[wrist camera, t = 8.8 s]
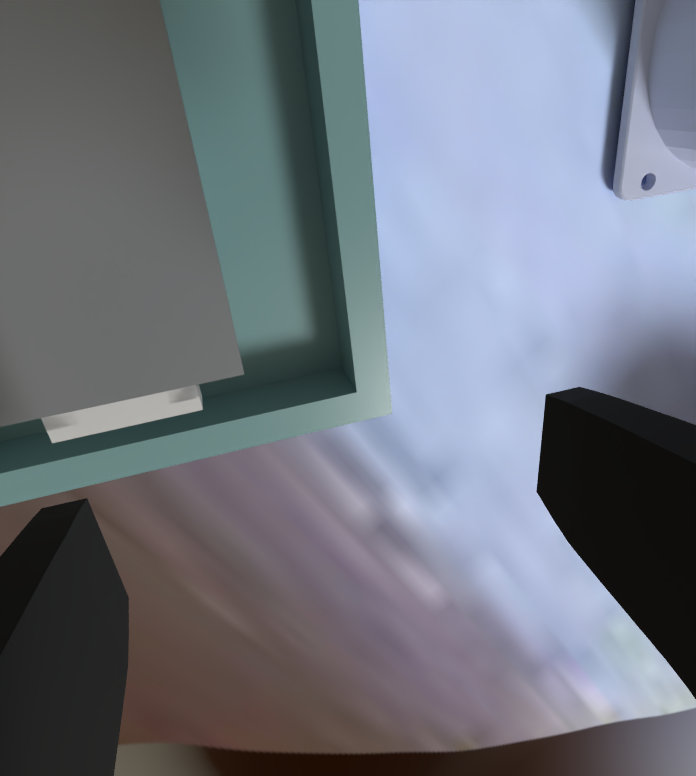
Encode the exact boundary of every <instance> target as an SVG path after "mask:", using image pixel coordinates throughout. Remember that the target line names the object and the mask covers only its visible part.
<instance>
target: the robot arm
mask: <svg viewBox="0 0 696 776" xmlns="http://www.w3.org/2000/svg"><path fill="white" fill-rule="evenodd" d="M645 175H647V180H646V183H645V184H644V185H643V187H641V182H642V179H643V178H644V176H645ZM692 189H696V0H636V1H635V9H634V17H633V25H632V34H631V42H630V50H629V58H628V66H627V75H626V83H625V91H624V99H623V108H622V116H621V124H620V132H619V140H618V149H617V157H616V165H615V173H614V182H613V192H614V194H615V196H616V197H618V198H619V199H623V200H630V201H632V200H637V199H642V198H648V197H653V196H659V195H664V194H670V193H675V192H681V191H686V190H692ZM537 493H538V495H539V496H540V498H541V500H542V501H543V503H544V505H545V506H546V508H547V510H548V511H549V513H550V515H551V516H552V518H553V520H554V521H555V523H556V524H557V526H558V527H559V529H560V530H561V532H562V533H563V535H564V536H565V538H566V539H567V541H568V542H569V544H570V545H571V546H572V547H573V549H574V550H575V551H576V552H577V554H578V555H579V556H580V557H581V559H582V560H583V561H584V562H585V563H586V565H587V566H588V567H589V568H590V570H591V571H592V572H593V573H594V574H595V576H596V577H597V578H598V579H599V580H600V582H601V583H602V584H603V585H604V586H605V588H606V589H607V590H608V591H609V592H610V594H611V595H612V596H613V597H614V598H615V600H616V601H617V602H618V603H619V604H620V606H621V607H622V608H623V609H624V610H625V611H626V613H627V614H628V615H629V616H630V617H631V619H632V620H633V621H634V622H635V623H636V625H637V626H638V627H639V628H640V629H641V631H642V632H643V633H644V634H645V635H646V637H647V638H648V639H649V640H650V641H651V643H652V644H653V645H654V646H655V647H656V648H657V650H658V651H659V652H660V653H661V654H662V656H663V657H664V658H665V659H666V661H667V662H668V663H669V664H670V666H671V667H672V668H673V670H674V671H675V672H676V673H677V675H678V676H679V677H680V679H681V680H682V681H683V682H684V684H685V685H686V686H687V688H688V689H689V690H690V692H691V693H692V695H693V696H694V698H695V699H696V425H694V424H691V423H688V422H685V421H682V420H680V419H677V418H674V417H671V416H668V415H665V414H662V413H660V412H657V411H654V410H651V409H648V408H645V407H643V406H640V405H637V404H634V403H631V402H628V401H625V400H622V399H619V398H616V397H613V396H610V395H606V394H603V393H600V392H596V391H593V390H589V389H585V388H581V387H577V388H573V389H569V390H564V391H560V392H555V393H551V394H546V400H545V410H544V420H543V431H542V441H541V452H540V462H539V472H538V483H537ZM128 640H129V598H128V595H127V593H126V590H125V588H124V585H123V583H122V581H121V578H120V576H119V573H118V571H117V569H116V566H115V564H114V562H113V559H112V557H111V554H110V552H109V550H108V547H107V545H106V542H105V540H104V538H103V535H102V533H101V530H100V528H99V526H98V523H97V521H96V519H95V516H94V514H93V511H92V509H91V507H90V504H89V502H88V499H87V498H86V499H82V500H77V501H73V502H68V503H64V504H60V505H55V506H51V507H46V508H42V509H41V510H40V511H39V512H38V513H37V514H36V515H35V516H34V517H33V519H32V520H31V521H30V522H29V523H28V524H27V525H26V527H25V528H24V529H23V530H22V531H21V533H20V534H19V535H18V536H17V537H16V538H15V540H14V541H13V542H12V543H11V544H10V546H9V547H8V548H7V549H6V550H5V552H4V553H3V554H2V555H1V556H0V776H114V769H115V762H116V754H117V747H118V739H119V732H120V725H121V717H122V709H123V702H124V694H125V686H126V678H127V669H128Z"/></svg>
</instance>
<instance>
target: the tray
mask: <svg viewBox="0 0 696 776" xmlns="http://www.w3.org/2000/svg"><path fill="white" fill-rule="evenodd" d="M160 1H161V6H162V10H163V14H164V19H165V23H166V28H167V32H168V36H169V41H170V45H171V50H172V54H173V59H174V63H175V67H176V72H177V76H178V81H179V85H180V89H181V94H182V98H183V103H184V107H185V111H186V116H187V120H188V125H189V129H190V133H191V138H192V142H193V147H194V151H195V156H196V160H197V164H198V169H199V173H200V178H201V182H202V186H203V191H204V195H205V200H206V204H207V208H208V213H209V217H210V222H211V226H212V230H213V235H214V239H215V244H216V248H217V253H218V257H219V261H220V266H221V270H222V275H223V279H224V284H225V288H226V293H227V297H228V302H229V306H230V311H231V316H232V320H233V325H234V329H235V334H236V338H237V343H238V348H239V352H240V357H241V361H242V366H243V370H244V375H240V376H235V377H231V378H226V379H221V380H217V381H212V382H207V383H203V384H199V387H200V391H201V394H202V403H203V410H200V411H195V412H191V413H186V414H182V415H177V416H173V417H168V418H164V419H159V420H155V421H151V422H146V423H142V424H137V425H133V426H128V427H124V428H119V429H115V430H110V431H106V432H101V433H97V434H92V435H88V436H83V437H79V438H74V439H70V440H65V441H61V442H56V443H52V442H51V439H50V437H49V435H48V433H47V431H46V428H45V426H44V424H43V422H42V420H41V418H40V419H35V420H30V421H26V422H21V423H16V424H12V425H7V426H2V427H0V507H1V506H5V505H9V504H13V503H17V502H22V501H26V500H30V499H34V498H39V497H43V496H47V495H51V494H55V493H60V492H64V491H68V490H72V489H76V488H81V487H85V486H89V485H93V484H98V483H102V482H106V481H110V480H114V479H119V478H123V477H127V476H131V475H135V474H140V473H144V472H148V471H152V470H157V469H161V468H165V467H169V466H173V465H178V464H182V463H186V462H190V461H195V460H199V459H203V458H207V457H211V456H216V455H220V454H224V453H228V452H232V451H237V450H241V449H245V448H249V447H254V446H258V445H262V444H266V443H270V442H275V441H279V440H283V439H287V438H291V437H296V436H300V435H304V434H308V433H313V432H317V431H321V430H325V429H329V428H334V427H338V426H342V425H346V424H350V423H355V422H359V421H363V420H367V419H372V418H376V417H380V416H384V415H388V414H392V407H391V395H390V383H389V370H388V358H387V346H386V334H385V322H384V309H383V297H382V285H381V273H380V260H379V248H378V236H377V224H376V211H375V199H374V187H373V175H372V163H371V150H370V138H369V126H368V114H367V101H366V89H365V77H364V65H363V52H362V40H361V28H360V16H359V4H358V0H160Z"/></svg>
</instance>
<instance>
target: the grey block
mask: <svg viewBox="0 0 696 776" xmlns="http://www.w3.org/2000/svg"><path fill="white" fill-rule="evenodd" d="M240 375H244V370H243V366H242V361H241V357H240V352H239V348H238V343H237V338H236V334H235V329H234V325H233V320H232V316H231V311H230V306H229V302H228V297H227V293H226V288H225V284H224V279H223V275H222V270H221V266H220V261H219V257H218V253H217V248H216V244H215V239H214V235H213V230H212V226H211V222H210V217H209V213H208V208H207V204H206V200H205V195H204V191H203V186H202V182H201V178H200V173H199V169H198V164H197V160H196V156H195V151H194V147H193V142H192V138H191V133H190V129H189V125H188V120H187V116H186V111H185V107H184V103H183V98H182V94H181V89H180V85H179V81H178V76H177V72H176V67H175V63H174V59H173V54H172V50H171V45H170V41H169V36H168V32H167V28H166V23H165V19H164V14H163V10H162V6H161V1H160V0H0V427H2V426H7V425H12V424H16V423H21V422H26V421H30V420H35V419H40V418H41V420H42V422H43V424H44V426H45V428H46V431H47V433H48V435H49V437H50V439H51V442H52V443H56V442H61V441H65V440H70V439H74V438H79V437H83V436H88V435H92V434H97V433H101V432H106V431H110V430H115V429H119V428H124V427H128V426H133V425H137V424H142V423H146V422H151V421H155V420H159V419H164V418H168V417H173V416H177V415H182V414H186V413H191V412H195V411H200V410H203V403H202V394H201V391H200V387H199V384H203V383H207V382H212V381H217V380H221V379H226V378H231V377H235V376H240Z"/></svg>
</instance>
